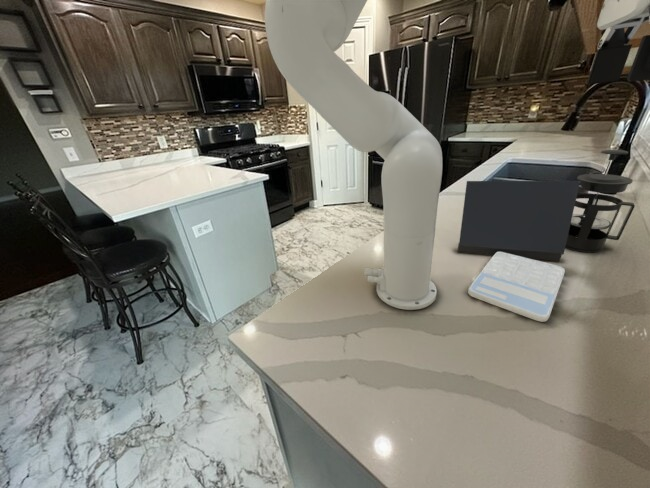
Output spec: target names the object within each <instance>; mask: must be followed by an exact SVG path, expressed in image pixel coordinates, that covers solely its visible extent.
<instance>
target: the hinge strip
mask: <svg viewBox="0 0 650 488" xmlns="http://www.w3.org/2000/svg"><path fill="white" fill-rule="evenodd" d="M496 252H505V253H509V254H513V255H517V256H521V257H525V258H529V259H533V260H541V261H554V262H560V261H561V258H562V255H563V254H552V253H540V252H528V251H516V250H503V249H491V248H479V247H467V246H459V243H458V244H457V253H465V254H475V255H485V256H486V255H487V256H494V254H495V253H496Z"/></svg>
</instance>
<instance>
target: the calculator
mask: <svg viewBox="0 0 650 488" xmlns="http://www.w3.org/2000/svg"><path fill="white" fill-rule="evenodd" d="M565 272H566V269H565V268H564V267H563V266H560V265H557V264H552V263H548V262H544V261H542V260H541V261H540V260H538V259H531V258H525V257H521V256H517V255H513V254H509V253H505V252H496V253H495V254H494V255H492V257H491V258H490V259H489V261H488V262H487V263H486V265H485V266H484V267H483V269H482V270H481V271H480V272H479V274H478V275H477V276H476V277H475V279H474V280H473V281H472V283H471V284H470V285H469V287H468V291H467V293H468V296H470V297H472V298H475V299H477V300H480V301H483V302H485V303H488V304H490V305H492V306H496V307H499V308H501V309H504V310H507V311H510V312H512V313H515V314H517V315H520V316H523V317H526V318H528V319H531V320H533V321H536V322H541V323H545V322H547V321H548V320H549V319H550V316H551V313H552V310H553V307H554V305H555V302H556V299H557V296H558V294H559V290H560V287H561V285H562V282H563V279H564V276H565Z"/></svg>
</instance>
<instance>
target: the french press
mask: <svg viewBox="0 0 650 488" xmlns="http://www.w3.org/2000/svg"><path fill="white" fill-rule="evenodd" d="M600 153H601V154H603V155H609V157H608V161H609V162H608V164H607V166H606V169H605V171H604V173H585V174H584V173H583V174H579V175H577V177H576V180H577V181H580V184H579V185H580V187H581V188H582V190H584V191H586V192H583V193H577V197H576V202H575V206H574V208H578V209H583V213H582V214H581V213H580V214H579V213H573V215H572V219H571V224H570V228H569V233H568V237H567V241H566V246H565V249H568V250H571V251H575V252H580V253H599V252H601V251H603V250H604V248H605V246H604V245H605V243H606V241H607V239H608V240H613V241H619V240H620V238H621V236H622V234H623V232H624V230H625V227H626V226H627V224H628V222H629V219H630V217H631V215H632V213H633V211H634V209H635V207H636V205H635V202H629V201H623V200H622V199H621V198H618V197H616V196H612V195H607V194H619V193H623V192H625V191H626V190H627V189H628V188H627V187H628V185H630V184H632V183H633V179H632V178H630V177H627V176H624V175H623V176H622V175H618V174H609V173H608V172H609V169H610V168H611V165H612V163H613V161H615V159H616V157H617V156H618V155H627V154H629V151H627V150H624V149H605V150H601V151H600ZM588 192H589V193H588ZM590 192H591V193H590ZM579 199H581V200H582V199H587V202H582V201H579ZM599 201H604V202H609V203H612V204H610V205H609V204H607V205H606V204H605V205H604V204H598V203H599ZM622 206H627V207H630V208H629V209H628V211H627V213H626V216H625V218H624V220H623V222H622V225H621V227H620V228H619V231H618V233H617V235H610V232H611V230H612V227H613V226H614V224H615V221H616V219H617V217H618V214H619V212H620V210H621V207H622ZM614 211H615V212H614ZM599 212H614V213H615V214H614V216H613V218H612V220H611V222H610V220H607V219H605V218H603V217H599V216H598V213H599ZM604 230H607V231H606V232H605V231H604Z"/></svg>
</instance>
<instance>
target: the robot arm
mask: <svg viewBox="0 0 650 488" xmlns="http://www.w3.org/2000/svg"><path fill="white" fill-rule="evenodd" d="M367 2H368V0H265V6H264V7H265V8H264V26H265V35H266V40H267V44H268V48H269V51H270V53H271V57H272V59H273V61H274V63H275V65H276V68H277V69H278V71H279V72H280V73H281V75H282V76H283V78H284V79H285V80H286V82H287V83H288V84H289V85H290V87H291V88H292V89H294V91H295V92H296V93H297V94H298V95H299V96H300V97H301V98H302V99H303V100H304V101H306V102H307V104H309V106H310V107H312V108H313V109H314V110H315V111H316V113H317V114H319V116H320V117H322V119H323V120H324V121H326V123H327V124H328V125H329V126H330V127H331V128H332V129H334V130H335V131H336V133H338V135H340V136H341V138H342V139H344V141H345V142H346V143H348V145H349V146H350V147H352V149H355V150H356V151H358V152H362V153H372V152H376V153H377V154H378V156H380V158H382V159H383V160H384V161H383V164H382V168H381V176H380V177H381V195H382V207H383V267H382V268H378V269H377V268H370V267H365V268H364V273H363V274H364V276H365V277H366V278H367V279H366V281H367V283H375V284H376V286H375V287H376V294H377V296H378V297H379V299H380V300H381V301H382V302H384V303H385V304H387V305H388V306H390V307H393V308H396V309H398V310H399V309H401V310H404V311H405V310H406V311H413V310H421V309H425V308H427V307H429V306H430V305H432V304H433V303H434V302H435V300H436V299H437V294H438V293H437V292H438V291H437V287H436V285H435V284H434V282H433V281H432V280H431V274H432V264H433V256H434V246H435V236H436V223H437V216H438V205H439V200H440V199H439V198H440V191H441V185H442V178H443V151H442V147H441V145H440V143H439V141H438V140H437V138H436V137H435V136H434V135H433V133H431V132H430V131H429V130H428V129H427V128H426V127H425V126H424V125H423V123H421V122H420V121H419V119H417V118H416V117H415V116H414V115H413V114H412V113H411V112H410V111H409V110H408V109H407V108H406V107H405V106H404V105H403V104H402V103H401V102H400V101H399V100H398V99H396V98H395V97H394V96H392V95H391V94H389V93H386V92H384V91H377V90H375V89H374V88H372V87H371V86H370V85H369V84H368V83H367V82H366V81H364V79H362V78H361V77H360V75H358V74H357V73H356V72H355V71H354V70H353V68H351V66H350V65H349V64H348V63H347V62H346V61H345V60H343V59H342V58H341V57H340V56H339V55H338V54H337V53H336V51H338V50H339V49H340V48H341V47H342V46H343V45H344V44H345V42H346V40H347V39H348V37H349V36H350V34H351V33H352V30H353V28H354V26H355V24H356V23H357V21H358V20H359V17H360V15H361V14H362V12H363V9H364V8H365V5H366V4H367ZM645 23H650V0H603V4H602V7H601V10H600V12H599V16H598V19H597V22H596V27H597V28H598V29H599V31H600V30H601V32H600V35H601V38H600V39H599V41H598V44H597V50H596V52H595V56H594V59H593V61H592V65H591V68H590V72H589V74H588V78H587V82H586V83H587V85H597V84H607V83H613V82H618V81H619V80H620V79H621V77H622V74H623V72H624V69H625V67H626V63H627V61H628V58H629V54H630V52H631V49H632V46H633V43H631V44H629V43H630V42H631V40H632V39H633V37H634V36H635V34H636V33H637V31H638V30H639V28H640V27H641V25H642V24H645ZM625 29H626V30H625ZM626 80H627V82H639V81H640V82H641V81H650V34H646V35H643V36H642V38H641V40H640V44H639V46H638V49H637V51H636V54H635V56H634V59H633V62H632V64H631V67H630V70H629V72H628V75H627V79H626Z"/></svg>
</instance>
